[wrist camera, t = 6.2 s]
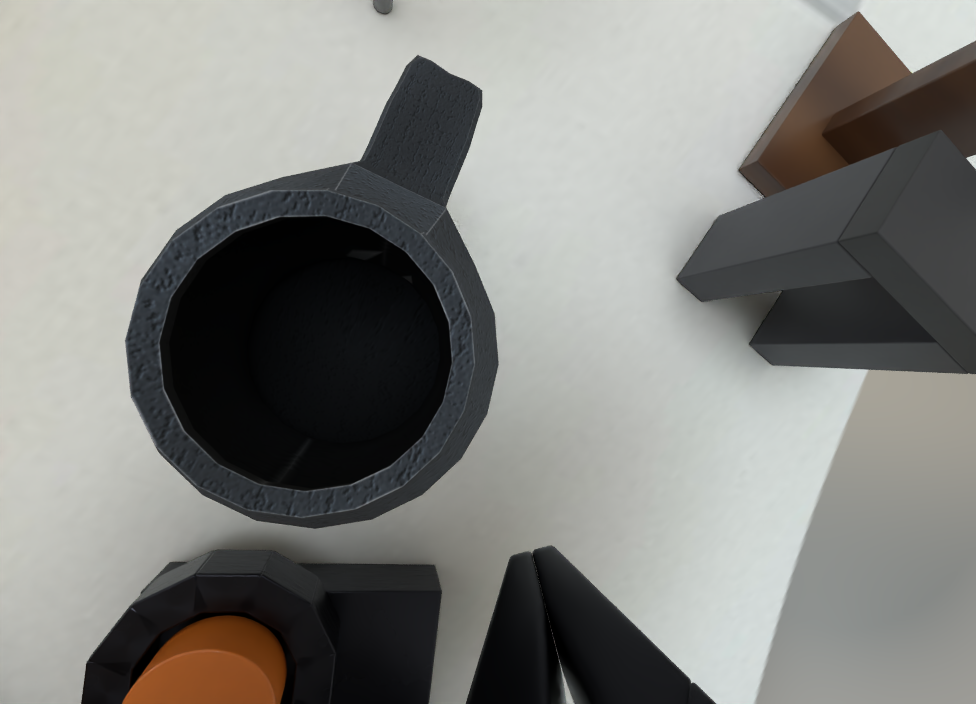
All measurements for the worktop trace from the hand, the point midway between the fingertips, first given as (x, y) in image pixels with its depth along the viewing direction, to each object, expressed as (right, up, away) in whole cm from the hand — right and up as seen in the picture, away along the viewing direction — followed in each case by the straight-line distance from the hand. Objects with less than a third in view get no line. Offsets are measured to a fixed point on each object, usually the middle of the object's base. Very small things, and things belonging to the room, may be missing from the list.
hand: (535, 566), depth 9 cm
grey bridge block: (+12, +7, +14) cm, 20 cm away
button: (-9, -6, +6) cm, 13 cm away
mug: (-6, +5, +10) cm, 13 cm away
